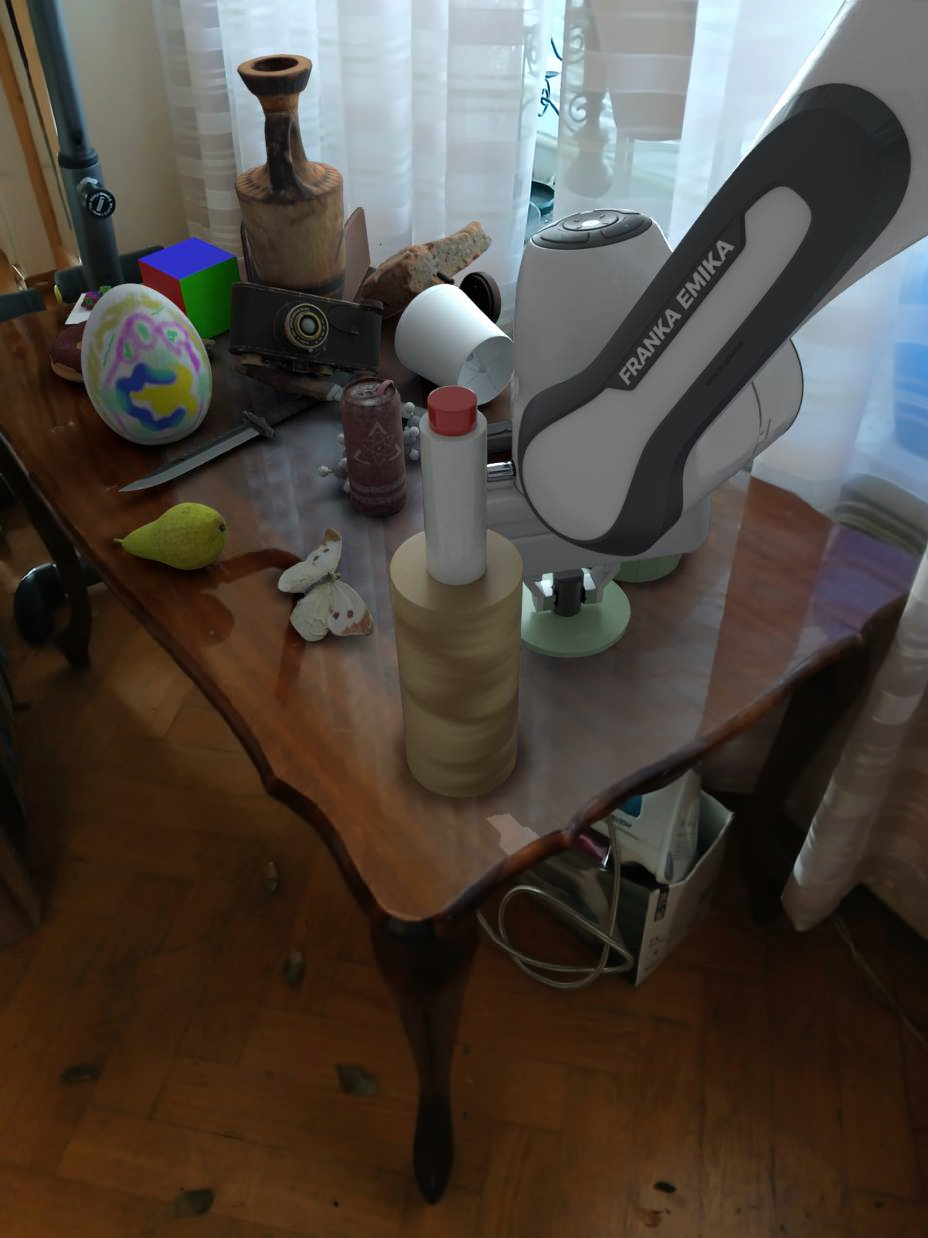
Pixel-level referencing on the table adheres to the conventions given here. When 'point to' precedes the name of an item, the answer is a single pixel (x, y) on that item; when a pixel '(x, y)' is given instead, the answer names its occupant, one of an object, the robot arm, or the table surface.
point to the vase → (291, 191)
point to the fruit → (180, 537)
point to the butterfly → (325, 595)
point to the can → (374, 445)
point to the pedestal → (459, 668)
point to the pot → (647, 569)
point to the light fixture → (457, 336)
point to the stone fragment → (423, 268)
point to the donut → (68, 353)
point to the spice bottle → (454, 485)
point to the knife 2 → (304, 385)
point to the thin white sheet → (86, 305)
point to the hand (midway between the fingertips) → (567, 602)
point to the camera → (304, 331)
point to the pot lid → (574, 618)
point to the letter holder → (354, 250)
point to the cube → (195, 282)
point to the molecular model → (408, 441)
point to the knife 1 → (224, 442)
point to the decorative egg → (145, 366)
